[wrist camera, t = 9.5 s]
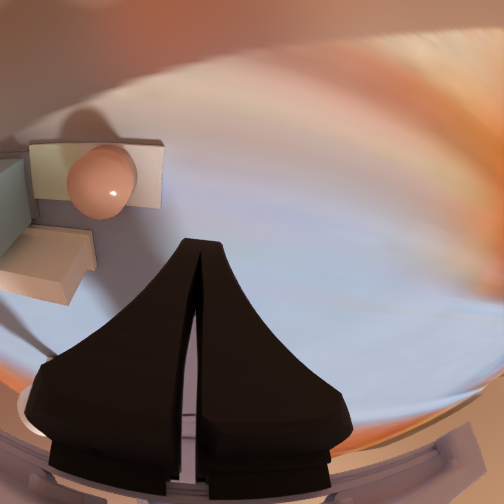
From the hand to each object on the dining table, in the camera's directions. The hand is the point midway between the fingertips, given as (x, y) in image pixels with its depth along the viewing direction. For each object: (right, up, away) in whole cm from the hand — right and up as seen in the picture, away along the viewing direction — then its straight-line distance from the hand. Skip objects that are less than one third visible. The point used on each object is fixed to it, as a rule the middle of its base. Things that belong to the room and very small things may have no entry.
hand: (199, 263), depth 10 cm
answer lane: (-9, +5, +5) cm, 12 cm away
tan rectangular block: (-15, +1, +8) cm, 17 cm away
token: (-7, +5, +5) cm, 10 cm away
